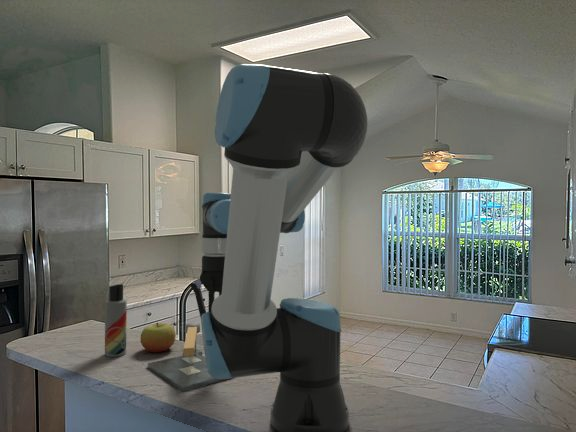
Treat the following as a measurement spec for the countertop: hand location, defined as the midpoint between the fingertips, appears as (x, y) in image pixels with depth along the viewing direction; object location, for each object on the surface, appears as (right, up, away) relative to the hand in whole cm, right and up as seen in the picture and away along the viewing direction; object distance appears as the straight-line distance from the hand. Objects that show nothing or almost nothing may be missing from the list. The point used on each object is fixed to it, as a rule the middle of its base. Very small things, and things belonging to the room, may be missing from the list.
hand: (216, 348), depth 105 cm
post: (-9, -6, +15) cm, 19 cm away
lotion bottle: (-31, -7, +15) cm, 35 cm away
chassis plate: (-7, -6, +2) cm, 10 cm away
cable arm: (-8, 0, +6) cm, 10 cm away
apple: (-20, -7, +19) cm, 29 cm away
